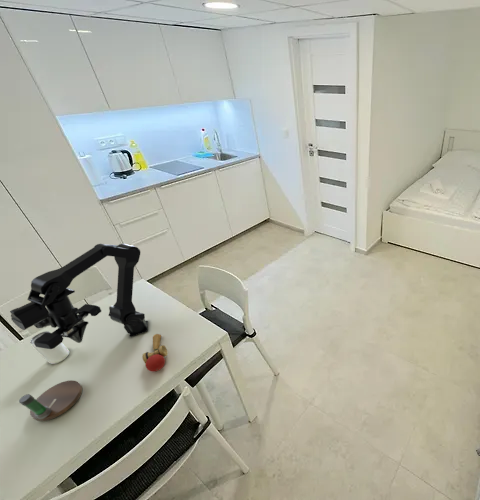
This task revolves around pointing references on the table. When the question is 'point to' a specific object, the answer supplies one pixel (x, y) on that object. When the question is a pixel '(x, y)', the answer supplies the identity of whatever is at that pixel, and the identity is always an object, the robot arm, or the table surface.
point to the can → (51, 351)
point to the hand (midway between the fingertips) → (79, 342)
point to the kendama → (155, 355)
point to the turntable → (53, 400)
